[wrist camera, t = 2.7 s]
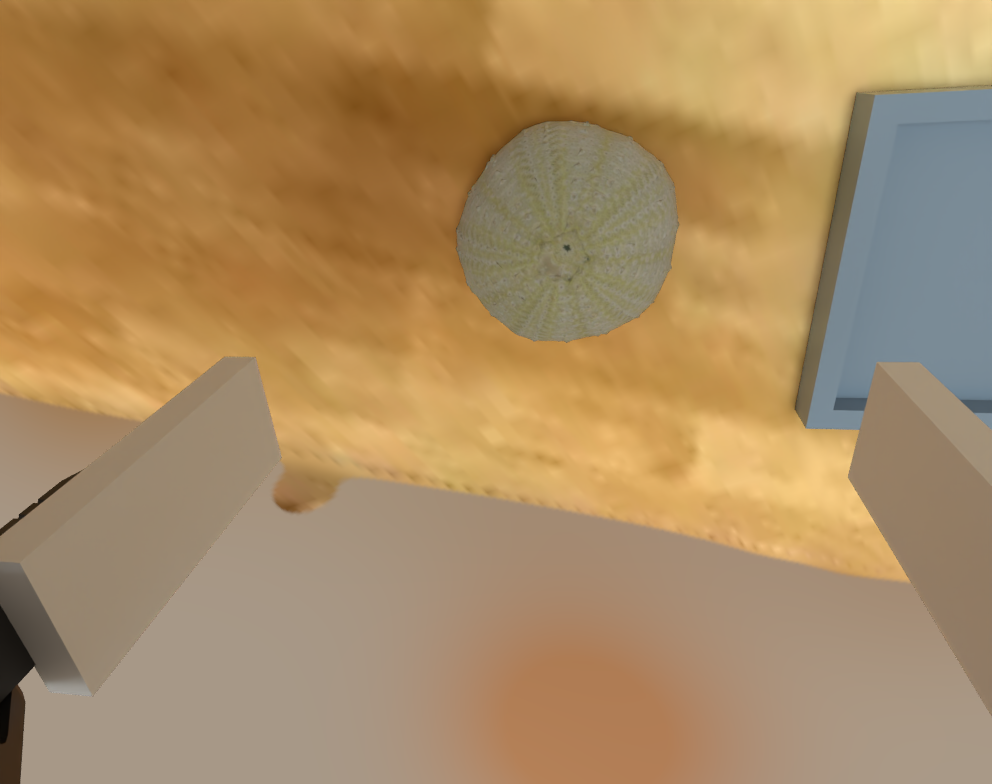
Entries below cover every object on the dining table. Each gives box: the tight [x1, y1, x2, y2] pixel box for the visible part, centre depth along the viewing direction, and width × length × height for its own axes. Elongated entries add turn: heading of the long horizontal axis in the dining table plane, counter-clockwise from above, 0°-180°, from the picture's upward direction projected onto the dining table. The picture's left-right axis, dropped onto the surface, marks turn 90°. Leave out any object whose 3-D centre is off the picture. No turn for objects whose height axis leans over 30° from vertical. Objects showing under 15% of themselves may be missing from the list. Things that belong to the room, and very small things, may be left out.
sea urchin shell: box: [456, 121, 679, 343], centre depth 26 cm, size 9×8×8 cm
